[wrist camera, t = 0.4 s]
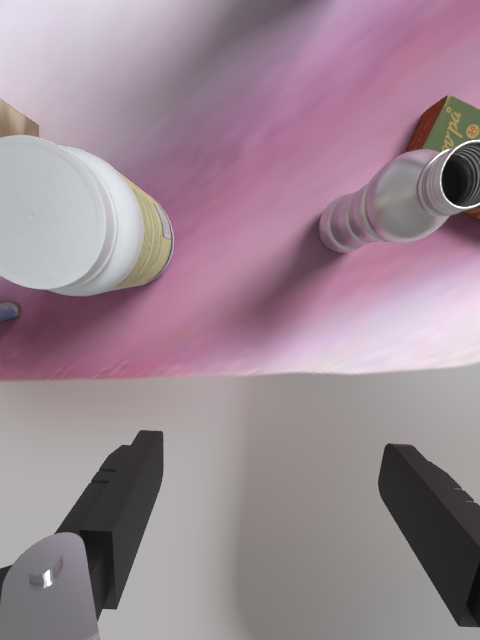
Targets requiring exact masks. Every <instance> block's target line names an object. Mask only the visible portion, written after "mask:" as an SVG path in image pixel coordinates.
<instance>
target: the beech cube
mask: <svg viewBox="0 0 480 640" xmlns="http://www.w3.org/2000/svg"><path fill="white" fill-rule="evenodd" d="M12 135H29V136H35V137H39V125H38V124H36V123H35V122H33V121H32V120H30V119H29V118H28V117H26V116H25V115H23V114H22V113H20V112H19V111H18V110H16V109H15V108H13V107H12V106H11V105H9V104H8V103H6V102H5V101H3V100H2V99H1V98H0V138H2V137H6V136H12Z"/></svg>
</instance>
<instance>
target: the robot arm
mask: <svg viewBox="0 0 480 640" xmlns="http://www.w3.org/2000/svg"><path fill="white" fill-rule="evenodd" d="M162 477H163V432H162V431H147V430H141V431H139V433H138V434H137V436H136V438H135V439H134V441H133V443H132V444H131V445H122V446H120V447H119V448H118V449H116V450H115V451H114V452H113V453H111V454H110V455H109V456H108V457H107V459H106V460H105V461H104V463H103V464H102V466H101V467H100V469H99V472H97V473H96V475H95V476H94V477H93V479H92V481H91V483H89V485H88V486H87V488H86V489H85V491H84V492H83V494H82V495H81V496H80V498H79V499H78V501H77V502H76V504H75V505H74V506H73V508H72V509H71V511H70V512H69V514H68V515H67V517H66V518H65V519H64V521H63V522H62V524H61V525H60V527H59V528H58V530H57V531H56V532H55V534H54V535H51V536H49V537H46V538H44V539H42V540H40V541H39V542H37V543H35V544H34V545H32V547H30V548H29V549H27V550H26V551H25V552H24V553H23V554H22V555H21V556H20V557H19V558H18V559H17V560H16V561H15V562H14V564H13V565H10V566H7V567H4V568H1V569H0V640H100V636H99V631H98V624H97V621H98V619H99V616H100V614H101V611H102V609H117V607H118V604H119V601H120V598H121V596H122V593H123V590H124V587H125V584H126V581H127V579H128V576H129V573H130V570H131V568H132V565H133V562H134V559H135V557H136V554H137V551H138V548H139V545H140V543H141V540H142V537H143V534H144V531H145V528H146V526H147V523H148V520H149V518H150V515H151V512H152V509H153V506H154V504H155V501H156V498H157V495H158V492H159V489H160V486H161V482H162ZM378 486H379V492H380V495H381V497H382V500H383V502H384V503H385V505H386V506H387V508H388V510H389V512H390V513H391V515H392V516H393V518H394V520H395V522H396V523H397V525H398V527H399V528H400V530H401V532H402V533H403V535H404V536H405V538H406V540H407V541H408V543H409V545H410V546H411V548H412V550H413V551H414V553H415V555H416V556H417V558H418V560H419V561H420V563H421V564H422V566H423V568H424V570H425V571H426V573H427V575H428V576H429V578H430V579H431V581H432V583H433V584H434V586H435V588H436V589H437V591H438V593H439V594H440V596H441V598H442V599H443V601H444V603H445V604H446V606H447V608H448V609H449V611H450V612H451V614H452V616H453V618H454V619H455V621H456V623H457V624H458V626H462V627H480V506H479V505H478V504H477V503H474V500H473V499H472V498H471V497H470V496H469V495H468V494H467V493H466V492H465V491H463V490H462V488H461V487H460V486H459V485H458V484H457V483H456V482H455V481H454V480H453V479H452V478H451V477H450V476H449V475H448V473H446V472H445V471H443V470H442V469H440V468H438V467H437V466H436V465H434V464H433V463H432V462H430V461H427V460H426V459H425V458H424V457H423V456H422V454H421V453H420V452H419V451H418V450H417V449H416V448H415V447H414V446H412V445H407V444H387V445H386V446H385V449H384V454H383V459H382V464H381V469H380V474H379V480H378Z"/></svg>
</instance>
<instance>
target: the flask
mask: <svg viewBox="0 0 480 640" xmlns="http://www.w3.org/2000/svg"><path fill="white" fill-rule="evenodd" d="M20 311H21V310H20V309H19V306H18V304H16V303H13V302H4V303H0V322H2V321H7V320H10V319H13V318H16V317H18V316H19V315H20ZM18 312H19V313H18Z"/></svg>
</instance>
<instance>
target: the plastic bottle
mask: <svg viewBox="0 0 480 640" xmlns="http://www.w3.org/2000/svg"><path fill="white" fill-rule="evenodd" d="M479 205H480V140H471V141H467V142H463V143H461V144H459V145H457V146H455V147H453V148H450V149H447V150H445V151H443V152H441V153H440V152H438V151H435V150H430V149H420V150H415V151H410V152H406V153H403V154H401V155H399V156H397V157H395V158H394V159H392V160H391V161H390V162H388V163H387V164H386V165H385V166H384V167H383V168H382V169H381V170H380V171H379V172H378V173H377V174H376V175H375V176H374V177H373V178H372V179H371V180H370V181H369V183H368V184H366V185H365V186H364V187H363V188H361V189H360V190H359V191H357V192H355V193H352V194H347V195H344V196H341V197H339V198H337V199H335V200H334V201H333V202H331V203H330V204H329V205H328V206H327V208H326V209H325V211H324V213H323V214H322V216H321V219H320V222H319V235H320V238H321V240H322V242H323V243H324V244H325V245H326V247H328V248H329V249H331V250H334V251H337V252H341V253H347V252H351V251H354V250H356V249H358V248H361V247H362V246H364V245H365V244H368V243H371V242H380V241H382V242H394V243H403V242H412V241H417V240H419V239H422V238H424V237H426V236H427V235H429V234H431V233H432V232H434V231H435V230H437V229H438V228H439V227H440V226H442V225H443V224H444V223H445V222H446V220H447V219H448V218H449V216H451V215H455V214H457V213H460V212H462V211H466V210H470V209H473V208H475V207H477V206H479Z"/></svg>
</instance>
